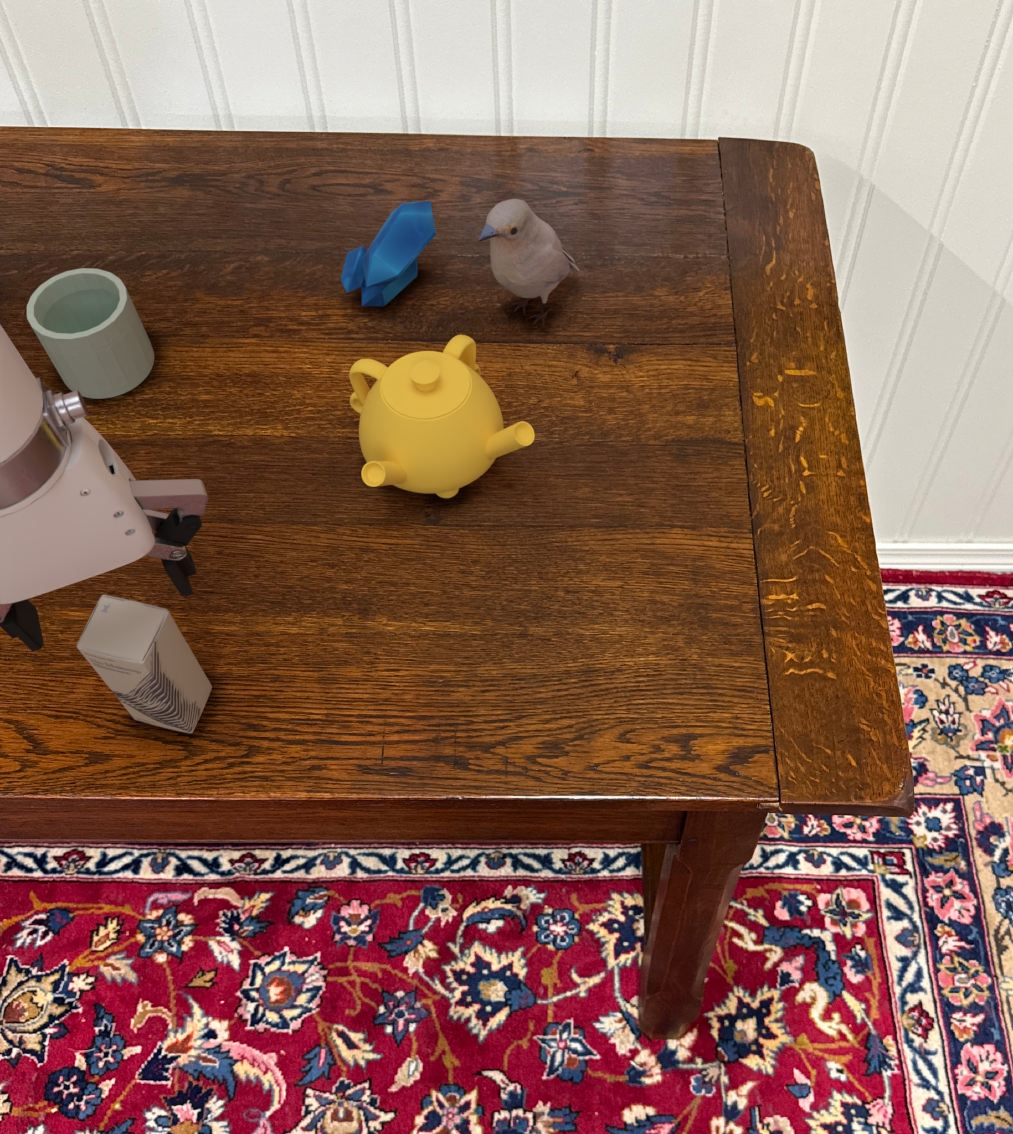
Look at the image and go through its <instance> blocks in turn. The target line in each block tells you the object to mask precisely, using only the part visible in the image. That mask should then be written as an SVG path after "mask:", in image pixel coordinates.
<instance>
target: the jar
mask: <svg viewBox="0 0 1013 1134" xmlns="http://www.w3.org/2000/svg"><path fill="white" fill-rule="evenodd" d="M26 319H27V321H28V323H29V325H30V327H31V329H32V330H33V332H34V333H35V336H36V337H37V338H38V340H39V343H40V344H41V345H42V347H43V349H44V350H45V352H46V354H47V356H48V358H49V359H50V361H51V363H52V364H53V366H54V368H55V370H56V371H57V373H58V375H59V377H60V378H61V380H62V381H63V382H64V384H65V386H66V387H67V388H68V389H69V390H70V391H71V392H74V391H77V390H78V391H79V392H80V394H81V395H82V397H83V398H86V399H92V400H93V399H97V400H100V399H102V400H103V399H109V398H110V399H111V398H114V397H118V396H121V395H124V394H126V393H128V392H130V391H132V390H133V389H135V388H137V387H138V386H139V385H140V384H142V382H144V381H145V380H146V379H147V377H148V376H149V374H151V372H152V369H153V367H154V363H155V352H154V351H155V350H154V349H153V346H152V342H151V341H150V338H149V336H148V333H147V331H146V329H145V327H144V325H143V323H142V320H141V317H140V315H139V313H138V311H137V309H136V307H135V305H134V302H133V301H132V299H131V296H130V294H129V291H128V289H127V287H126V285H125V284H124V282H123V281H122V279H121V278H120V277H118V276H116V275H115V274H114V273H112V272H110V271H107V270H103V269H100V268H93V267H92V268H88V267H81V268H76V269H71V270H66V271H64V272H61V273H59V274H56V275H53V276H52V277H49V279H47V280H46V281H44V282H43V283H42V284H40V285H39V286H38V287H37V288H36V289H35V290H34V291H33V293H32V294H31V295H30V297H29V299H28V302H27V304H26Z"/></svg>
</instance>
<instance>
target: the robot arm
mask: <svg viewBox="0 0 1013 1134" xmlns="http://www.w3.org/2000/svg"><path fill="white" fill-rule="evenodd" d="M87 416H89V410H88V407H87V404H86V401H85V399H84V397H83V396H82V395H81V394H80V392H79V391H78V390H77V391H74V392H73V391H71V392H67V393H65V394H64V392H58V393H55V392H54V391H53V390H52V389H49V390H48V388H47V387H46V385H45V384H44V382H43V380H42V379H41V377H35V375H34V374H33V372H32V370H31V369H30V368H29V366H28V365H27V362H25V360H24V359H23V357H22V356H21V354H20V352H19V350H18V349H17V348H16V346H15V345H14V343H13V341H12V340H11V338H10V337H9V335H8V334H7V332H6V330H5V329H4V327H3V326H2V324H0V628H1V629H2V630H3V631H4V632H5V633H6V634H7V635H8V636H9V637H10V638H11V639H17V638H18V639H19V640H20V641H21V642H22V643H23V644H24V645H25V646H26V647H27V648H28V649H29V650H30V651H31V652H36V651H40V650H42V648H43V647H44V646H45V642H44V637H43V632H42V628H41V622H40V617H39V612H38V609H37V608H36V607H35V605H34V604H33V603H32V602H31V601H30V600H29V599H32V598H34V597H35V598H36V597H38V596H41V595H43V594H47V593H50V592H54V591H55V590H59V589H61V588H64V587H67V586H70V585H73V584H76V583H79V582H82V581H85V580H87V579H90V578H93V577H97V576H99V575H101V574H104V573H107V572H110V571H113V570H115V569H119V568H121V567H124V566H127V565H129V564H131V563H133V562H136V561H138V560H140V559H141V558H143V557H145V556H146V557H151V558H156V559H160V560H161V563H162V566H163V568H164V571H165V573H166V574H167V576H168V577H169V579H170V580H171V582H172V583H173V585H174V587H175V589H176V590H177V591H178V593H179V594H180V596H181V597H183V596H184V597H185V598H187V597H190V596H193V595H194V590H193V588H192V584H191V581H190V580H191V579H190V577H191V576H194V575H197V574H198V571H197V568H196V564H195V562H194V561H195V560H194V559H193V556H192V555H191V552H190V551H189V548H188V547H187V546H188V545H189V544H190V542H191V541H192V540H193V538H195V536H196V535H197V534H198V532H199V531H200V530H201V528H202V526H203V522H202V518H203V516H204V515H205V511H206V508H207V505H208V501H209V495H208V493H207V490H206V486H205V483H204V480H202V479H200V478H184V479H183V478H182V479H181V478H180V479H179V478H178V479H148V480H147V479H146V480H145V479H143V480H142V479H141V480H137V479H136V478H135V476H134V475H133V473H132V472H131V470H130V469H129V468H128V465H126V464H125V463H124V461H123V460H122V458H121V457H120V456H119V455H118V454H117V452H116V450H114V448H113V447H112V446H111V445H110V443H108V441H107V439H105V437H103V436H102V435H101V433H100V432H99V431H98V430H97V429H96V428H95V426H93V425H92V424H91V423H90V422H89V421H88V420H87V419H86V418H84V417H87ZM167 509H170V510H171V509H172V510H171V511H170V512H169V513H166V512H162V511H158V510H167ZM153 531H154V533H153Z"/></svg>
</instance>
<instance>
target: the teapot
mask: <svg viewBox="0 0 1013 1134" xmlns="http://www.w3.org/2000/svg"><path fill="white" fill-rule="evenodd" d="M476 360H477V344H476V341H475V340H474V339H473V338H472V337H470V336H468V335H466V334H457V335H455V336H454V337H452V338H451V339H450V340H449V341H448V342H447V343H446V345H445V347H444V349H443V351H442V352H441V351H436V350H422V351H421V350H420V351H415V352H411V353H408V354H405V355H403V356H402V357H399V358H397V359H395V361H393V362H392V363H391V364H390V365H389V366H387V365H386V364H384V363H382V362H380V361H377V360H375V359H372V358H361V359H358V360H356V361H355V362H354V363H353V364H352V366H351V367H350V369H349V372H348V377H349V378H348V379H349V382H350V384H351V388H352V389H353V392H352V393H351V394H350V397H349V405H350V407H351V408H352V409H353V410H354V411H355V412H356V413H358V414H359V415H360V416H359V423H358V440H359V446H360V450H361V453H362V456H363V459H364V460H365V462H366V463H365V464H364V465H363V467H362V469H361V472H360V473H361V479H362V482H363V483H364V484H366V486H368V487H372V488H374V487H376V488H377V487H384V486H394V487H396V488H399V489H401V490H403V491H407V492H412V493H418V494H435V495H436V496H438V497H439V498H443V499H450V498H453V497H455V496H456V495H457V494H458V493H459V490H460V489H461V488H463V487H465V486H467V485H470V484H471V483H473V482H474V481H476V480H478V479H479V478H480V477H481V476H483V475H484V474H485V473H486V472H487V471H488V470H489V469H490V468H491V466H492V465H493V464H494V462H495V461H496V459H497V458H499V457H502V456H505V455H507V454H510V453H513V452H515V451H518V450H521V449H523V448H525V447H528V446H530V445H532V444H533V443H534V441H535V437H536V435H535V430H534V427H532V425H531V424H530V423H529V422H527V421H523V420H522V421H518V422H516V423H514V424H511V425H509V426H508V427H505V426H504V419H503V414H502V411H501V407H500V405H499V402H498V400H497V398H496V396H495V394H494V392H493V391H492V389H491V387H490V386H489V385H488V383H487V382H486V381H485V380H484V379H483V378H482V376H481V375H482V371H481V367H480V366H479V364H477V363H476V362H477V361H476ZM363 374H364V375H367V376H369V377H372V378H374V379H375V381H374V383H373V385H372V386H371V388H370V386H369V385H368V383H367V380H366V378H365V376H364V375H363Z"/></svg>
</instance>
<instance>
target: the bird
mask: <svg viewBox="0 0 1013 1134" xmlns="http://www.w3.org/2000/svg"><path fill="white" fill-rule="evenodd" d="M486 240H489V252H490V256H489V257H490V270H491V272H492V274H493V276H494V279H495V280H496V281H497V282H498V284H499V285H500V286H502V287H503V288H504V289H505V290H507V291H509V292H510V293H511V294H514V295H515V296H517V297H520V298H521V300H520V301H514V302H513V303H510V305H509V306H508V307H509V308H510V307H512V306H516V307H515V309H514V310H513V313H516V311H517V310H519V309H520V308H522V312H523V315H524V316H526V311H527V307H528V303H529V301H530V300H531V299H534V298H538V297H540V298H541V301H542V302H541V306H540V313H538V314H537V313H536V314H533V315H531V316H529V317H528V318H527V319H528V320H529V319H533V318H535V319H534V320H533V323H532V326H533V325H535V324H536V323H537V322H539V321H541V324H542V328H543V329H544V328H545V324H546V323H545V321H546V318H547V315H548V314H549V313H550V311H553V308H548V309H547V310H545V306H546V303H547V302H548V298H549V295H550V293H551V292H552V291H554V290H555V289H556V288H557V287H558V285H559V284H560V282H562V281H563V280H564V279H565V278H567V276H568V275H569V273H570V272H571V273H575V270H576V271H577V272H581V270H580V268H579V267H578V265H577V264H576V263H577V262H576V261H575V259H574V257H572V256H571V253H570V252H569V251H568V250H567V249H566V248H565V247H564V246H563V245H562V241H561V239H560V238H559V237H558V235H557V233H556V231H555V229H554V228H553V227H552V226H551V225H549V224H548V223H547V222H545V221H544V220H542V219H541V218H540V217H538V215H536V214H535V213H534V211H533V210H532V209H531V207H530V206H529V204H528V203H527V202H526V201H525V200H523V199H520V198H511V199H506V200H501V201H500V202H497V204H496V205H494V206H493V207H492V209H491V210H490V211H489V212H488V214H487V216H486V219H485V224H484V226H483V229H482V230H481V233H480V235H479V236H478V239H477V243H479V242H480V243H481V242H484V241H486ZM574 269H575V270H574Z"/></svg>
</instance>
